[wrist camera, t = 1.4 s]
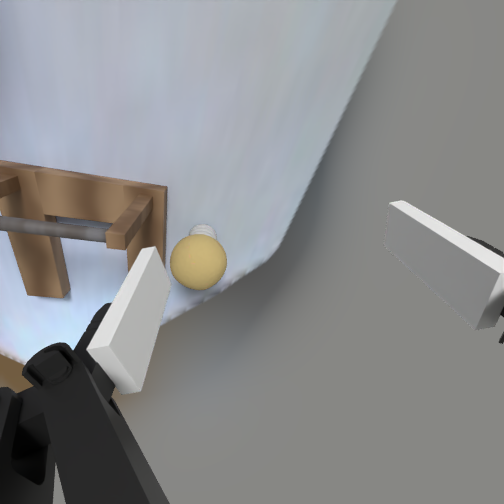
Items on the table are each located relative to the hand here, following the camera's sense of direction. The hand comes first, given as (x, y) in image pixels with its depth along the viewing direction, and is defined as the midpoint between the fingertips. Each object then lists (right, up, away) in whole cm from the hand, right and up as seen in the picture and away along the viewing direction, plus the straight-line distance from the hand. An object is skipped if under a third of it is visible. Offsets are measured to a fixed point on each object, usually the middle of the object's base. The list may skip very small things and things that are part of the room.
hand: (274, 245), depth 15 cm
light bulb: (-8, +2, +21) cm, 23 cm away
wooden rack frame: (-22, +1, +20) cm, 30 cm away
